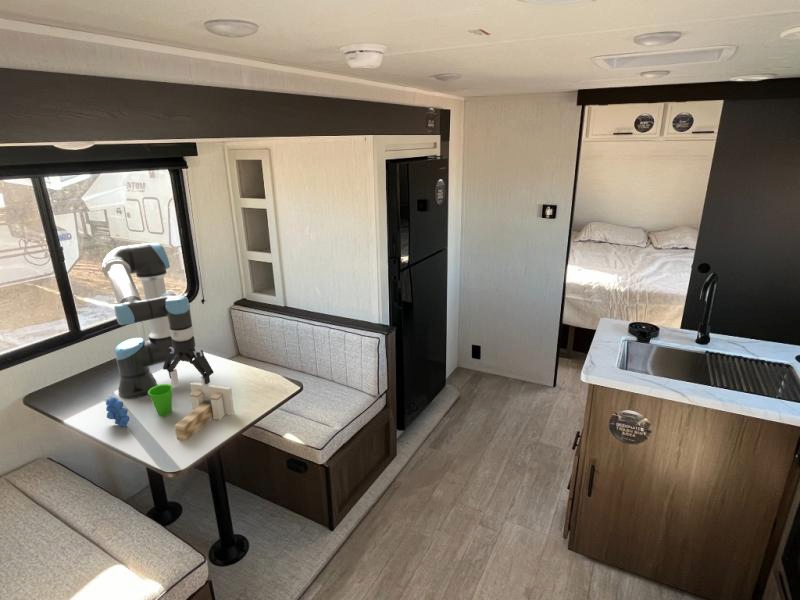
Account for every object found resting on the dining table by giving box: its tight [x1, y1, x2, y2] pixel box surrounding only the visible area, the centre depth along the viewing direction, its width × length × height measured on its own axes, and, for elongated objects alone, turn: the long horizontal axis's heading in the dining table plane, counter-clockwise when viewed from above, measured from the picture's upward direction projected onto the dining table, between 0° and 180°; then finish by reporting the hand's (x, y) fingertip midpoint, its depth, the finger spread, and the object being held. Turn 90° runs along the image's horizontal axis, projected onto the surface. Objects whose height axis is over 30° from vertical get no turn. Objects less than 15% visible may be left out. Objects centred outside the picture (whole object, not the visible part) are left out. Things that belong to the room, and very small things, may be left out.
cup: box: [147, 383, 173, 417], centre depth 187 cm, size 9×9×11 cm
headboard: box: [189, 381, 235, 420], centre depth 187 cm, size 18×6×12 cm, turn 76°
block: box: [174, 400, 214, 442], centre depth 179 cm, size 18×4×6 cm, turn 166°
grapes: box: [105, 396, 131, 427], centre depth 179 cm, size 12×7×12 cm, turn 63°
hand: (191, 388), depth 175 cm, fingers open, 13 cm apart
